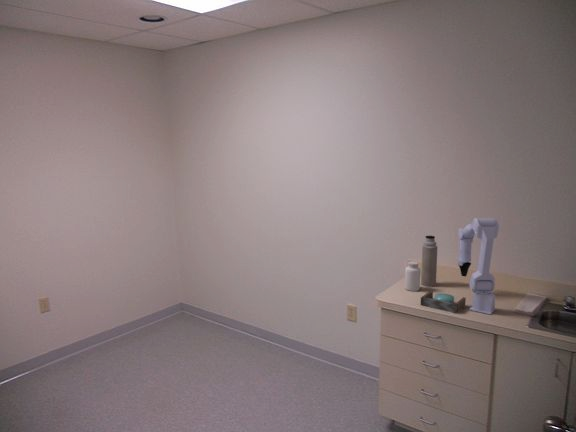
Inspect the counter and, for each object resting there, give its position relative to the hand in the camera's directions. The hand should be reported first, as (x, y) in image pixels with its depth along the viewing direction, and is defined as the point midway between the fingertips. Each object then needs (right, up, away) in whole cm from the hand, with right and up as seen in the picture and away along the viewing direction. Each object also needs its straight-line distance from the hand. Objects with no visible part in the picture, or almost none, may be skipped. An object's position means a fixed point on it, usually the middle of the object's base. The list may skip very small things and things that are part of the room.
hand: (464, 275), depth 223 cm
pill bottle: (-25, -9, +9) cm, 28 cm away
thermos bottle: (-13, -7, +16) cm, 22 cm away
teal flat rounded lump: (-16, -12, -14) cm, 24 cm away
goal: (-17, -12, -16) cm, 26 cm away
